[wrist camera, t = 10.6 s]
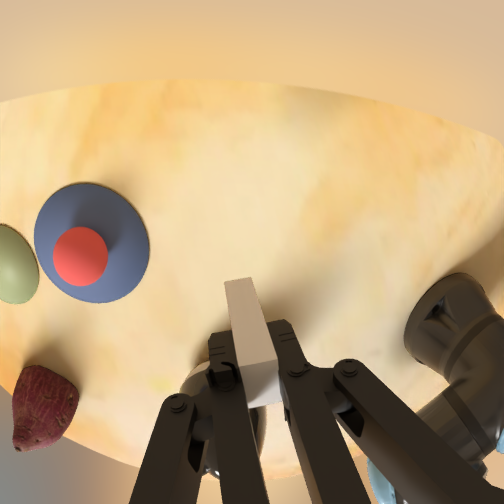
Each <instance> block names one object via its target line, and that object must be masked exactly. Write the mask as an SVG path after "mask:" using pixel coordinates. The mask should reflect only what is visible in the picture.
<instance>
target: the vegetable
mask: <svg viewBox="0 0 504 504" xmlns="http://www.w3.org/2000/svg"><path fill="white" fill-rule="evenodd" d="M78 401H79V394H78V391H77V389H76V388H75V387H74V385H73V384H72V383H70V382H69V381H68V380H67V379H65V378H64V377H62V376H60V375H58V374H56V373H55V372H53V371H51V370H49V369H47V368H44V367H41V366H39V365H37V366H36V365H34V366H30V367H27V368H25V369H24V370H22V372H21V374H20V376H19V378H18V380H17V383H16V386H15V389H14V393H13V398H12V410H13V421H14V433H13V445H14V448H15V450H16V451H17V452H27V451H31V450H35V449H40V448H44V447H47V446H51V445H52V444H53V443H55V442H56V441H57V440H59V439H60V438H61V436H62V435H63V433H64V432H65V431H66V429H67V428H68V427H69V425H70V423H71V421H72V419H73V417H74V414H75V412H76V409H77V406H78Z"/></svg>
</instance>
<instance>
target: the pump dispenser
mask: <svg viewBox="0 0 504 504" xmlns="http://www.w3.org/2000/svg"><path fill="white" fill-rule="evenodd" d="M209 365H210V361H207V362H204V363H202V364H200V365H198V366H197V367H196V368H194V369H193V370H192V371H191V372H190V373H189V375H188V376H187V378H186V380H185V382H184V383H183V384H182V386H181V388H180V391H179V393H184V394H188V395H189V396H190V397H192V396H194V395H197V394H199V393H201V392H203V391H204V390H205V389H206V388H207V387H208V386H209V384H208V381H207V378H206V375H205V372H206V369H207V367H208V366H209ZM249 413H250V417H251V422H252V426H253V431H254V436H255V440H256V445H257V450H258V454H259V459H260V456H261V453H262V449H263V445H264V440H265V434H266V425H267V409H266V405H264V406H259V407H254V408H249ZM207 473H210V474H211V475H212V476H214V477H215V478H217V479H219V472H218V464H217V455H216V447H215V437H213V438H211V439H209V443H208V448H207V453H206V458H205V463H204V468H203V473H202V476H203V475H205V474H207Z"/></svg>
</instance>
